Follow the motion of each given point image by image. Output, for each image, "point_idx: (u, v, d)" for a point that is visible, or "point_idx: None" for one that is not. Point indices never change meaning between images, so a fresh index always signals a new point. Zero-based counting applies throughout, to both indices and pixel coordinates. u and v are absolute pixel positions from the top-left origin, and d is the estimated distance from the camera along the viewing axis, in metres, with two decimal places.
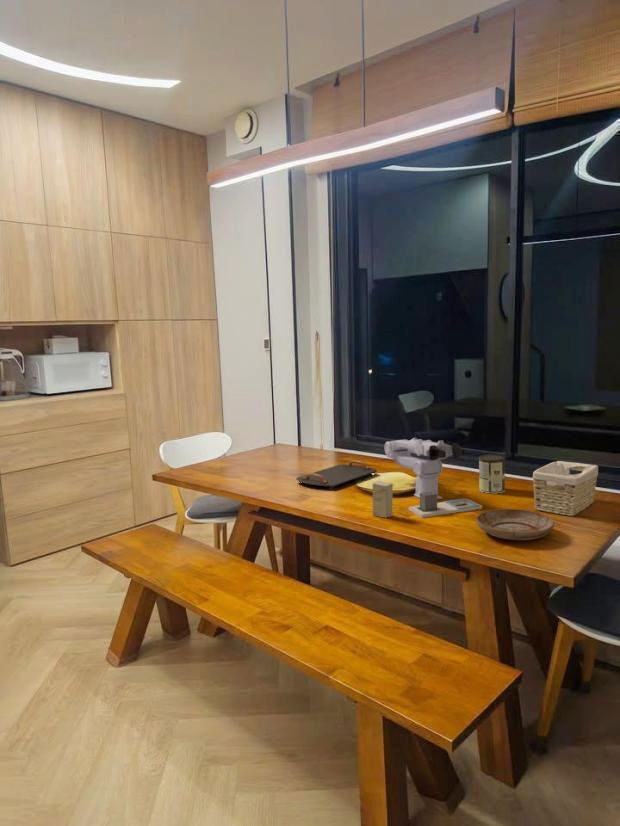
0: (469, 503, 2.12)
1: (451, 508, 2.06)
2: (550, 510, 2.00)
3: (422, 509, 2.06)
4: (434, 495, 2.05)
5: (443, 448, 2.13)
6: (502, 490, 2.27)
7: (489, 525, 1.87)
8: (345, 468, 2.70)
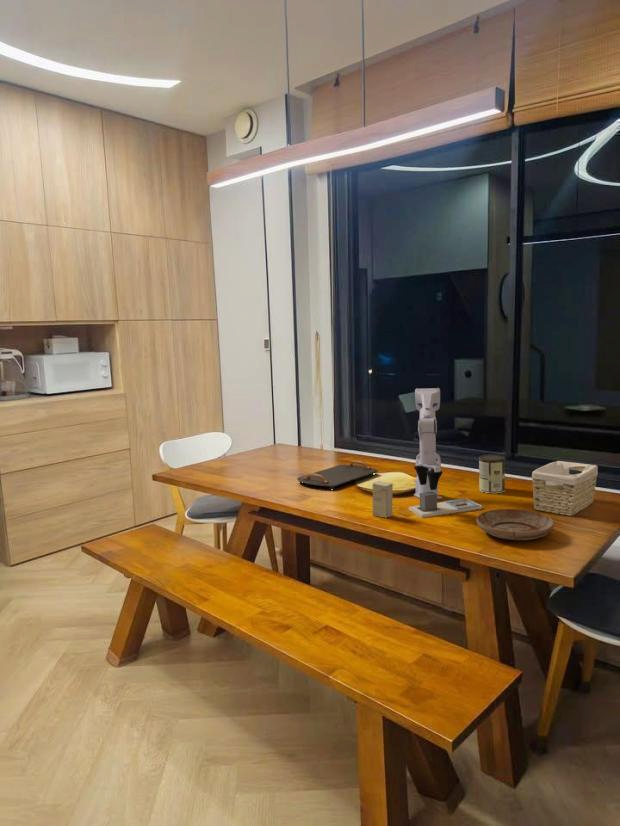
0: (469, 503, 2.12)
1: (451, 508, 2.06)
2: (549, 510, 2.00)
3: (422, 509, 2.06)
4: (434, 495, 2.05)
5: None
6: (502, 490, 2.27)
7: (489, 525, 1.87)
8: (346, 468, 2.69)
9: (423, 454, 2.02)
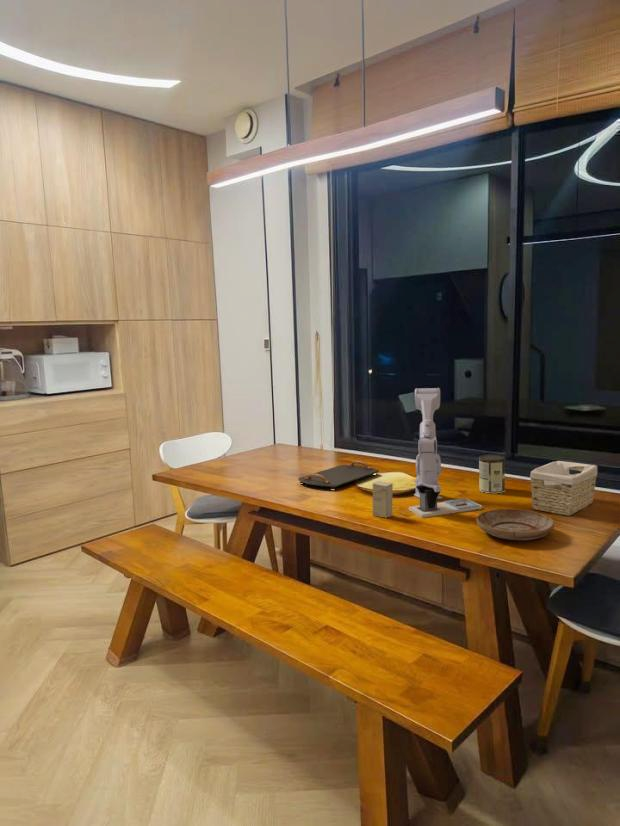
0: (469, 503, 2.12)
1: (451, 508, 2.06)
2: (547, 509, 2.01)
3: (422, 509, 2.06)
4: None
5: None
6: (502, 490, 2.27)
7: (489, 525, 1.87)
8: (347, 468, 2.69)
9: (423, 473, 2.03)
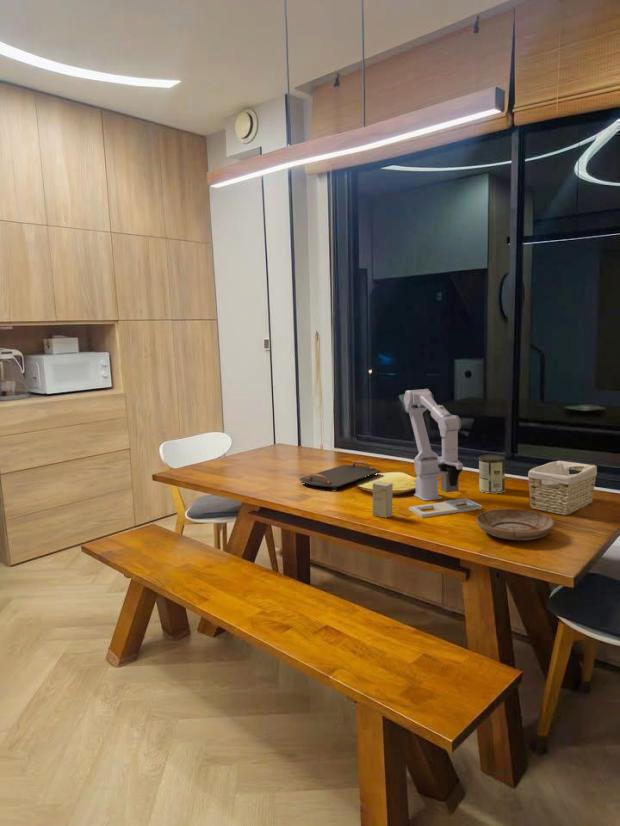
0: (469, 503, 2.12)
1: (451, 508, 2.06)
2: (545, 509, 2.02)
3: (443, 487, 2.08)
4: None
5: None
6: (502, 490, 2.27)
7: (489, 525, 1.87)
8: (348, 469, 2.68)
9: (445, 452, 2.05)
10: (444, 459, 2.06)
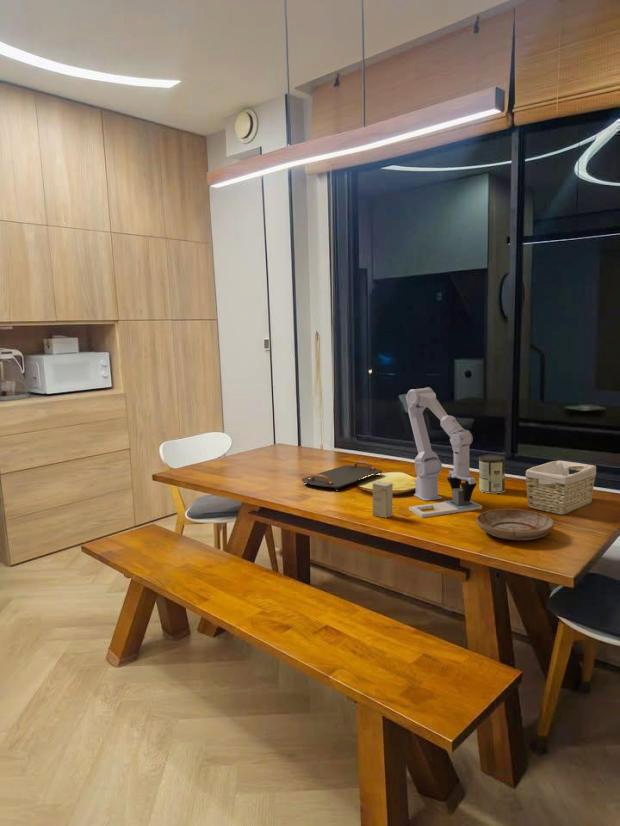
0: None
1: (451, 508, 2.06)
2: (542, 508, 2.03)
3: (455, 504, 2.10)
4: None
5: None
6: (502, 490, 2.27)
7: (489, 525, 1.87)
8: (350, 469, 2.68)
9: (457, 466, 2.07)
10: (456, 473, 2.08)
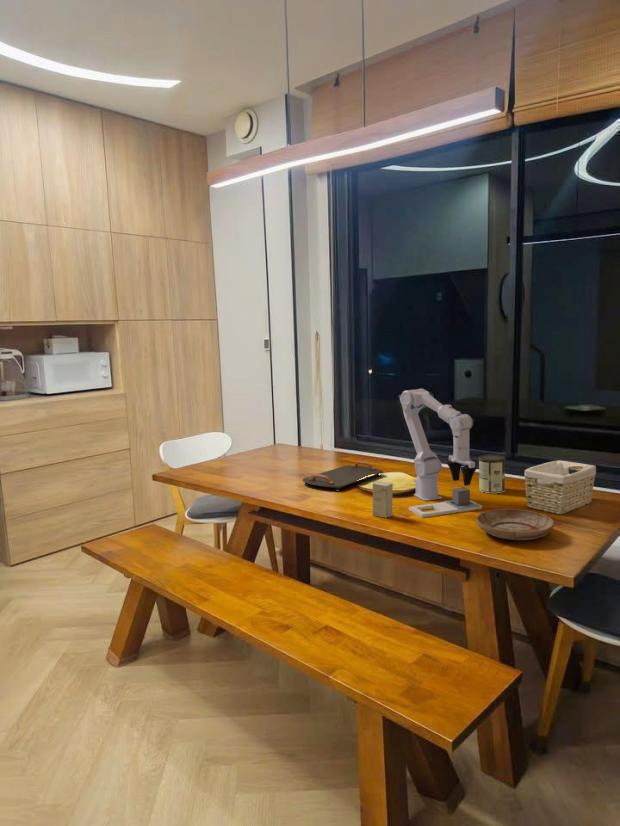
0: None
1: (451, 508, 2.06)
2: (540, 508, 2.03)
3: (455, 504, 2.10)
4: (467, 491, 2.09)
5: None
6: (502, 490, 2.27)
7: (489, 525, 1.87)
8: (351, 469, 2.67)
9: (457, 450, 2.06)
10: (456, 458, 2.07)
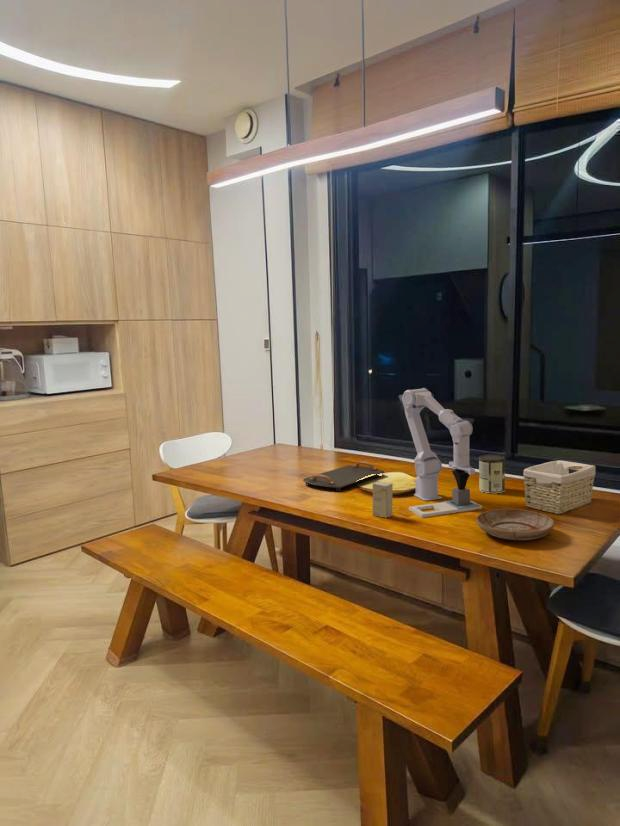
0: None
1: (451, 508, 2.06)
2: (539, 507, 2.04)
3: (455, 504, 2.10)
4: (467, 490, 2.09)
5: None
6: (502, 490, 2.27)
7: (489, 525, 1.87)
8: (352, 469, 2.67)
9: (457, 457, 2.07)
10: (456, 464, 2.08)
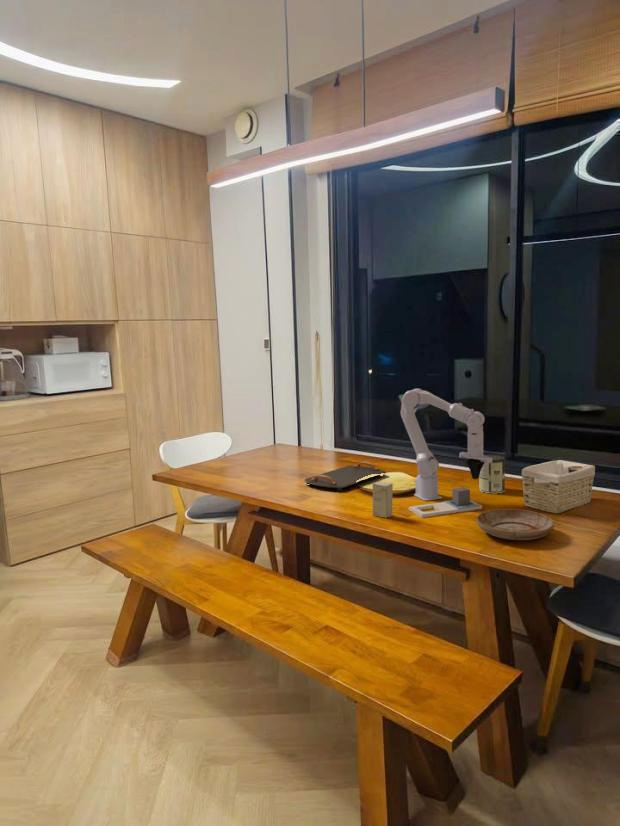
0: None
1: (451, 508, 2.06)
2: (537, 507, 2.04)
3: (455, 504, 2.10)
4: (467, 491, 2.09)
5: None
6: (502, 490, 2.27)
7: (489, 525, 1.86)
8: (353, 469, 2.67)
9: (473, 447, 2.11)
10: (472, 454, 2.12)
